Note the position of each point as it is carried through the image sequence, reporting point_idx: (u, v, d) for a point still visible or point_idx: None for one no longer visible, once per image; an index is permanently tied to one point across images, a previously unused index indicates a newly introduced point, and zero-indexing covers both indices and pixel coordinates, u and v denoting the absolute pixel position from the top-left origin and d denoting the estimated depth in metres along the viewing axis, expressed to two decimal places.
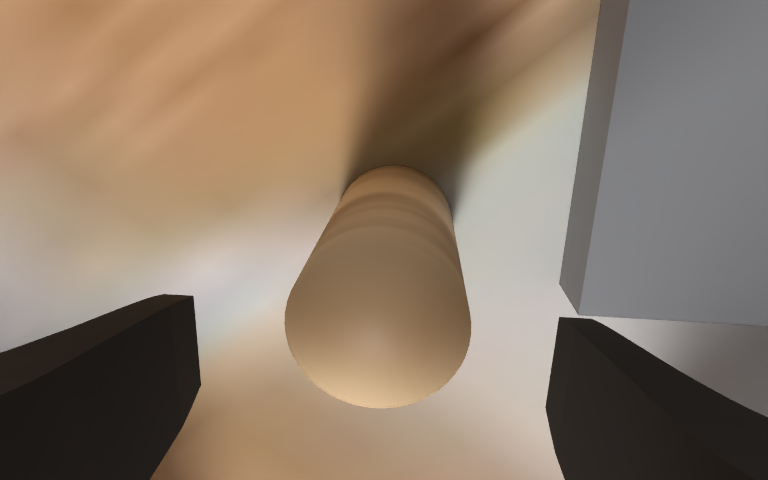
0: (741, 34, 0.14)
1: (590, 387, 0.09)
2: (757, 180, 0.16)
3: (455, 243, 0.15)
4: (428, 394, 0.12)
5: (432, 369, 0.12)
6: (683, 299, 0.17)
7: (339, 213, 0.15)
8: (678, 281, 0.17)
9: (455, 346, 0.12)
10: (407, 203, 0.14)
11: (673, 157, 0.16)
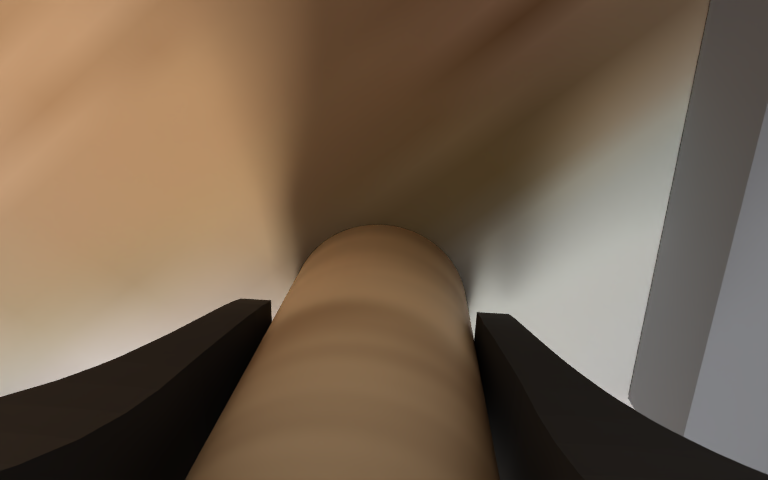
0: None
1: (492, 381, 0.09)
2: None
3: (482, 394, 0.08)
4: None
5: None
6: None
7: (271, 342, 0.08)
8: None
9: None
10: (394, 331, 0.08)
11: None
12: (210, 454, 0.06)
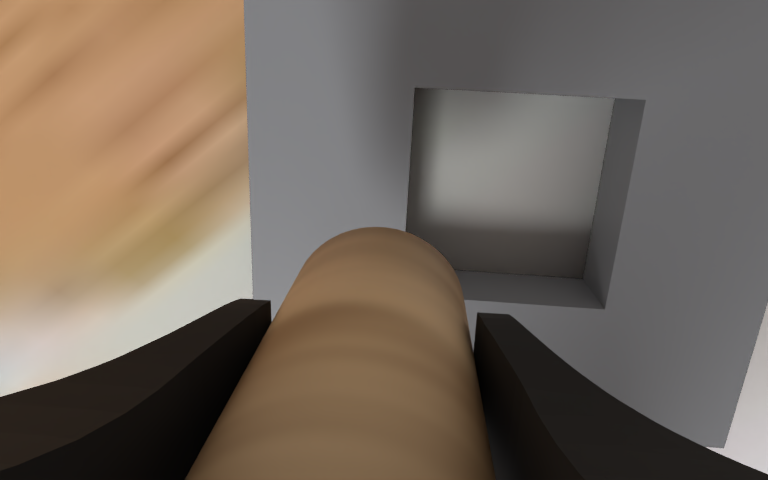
0: (348, 181, 0.16)
1: (492, 381, 0.09)
2: None
3: (481, 403, 0.08)
4: None
5: None
6: None
7: (276, 340, 0.08)
8: None
9: None
10: (400, 337, 0.08)
11: None
12: (217, 450, 0.06)
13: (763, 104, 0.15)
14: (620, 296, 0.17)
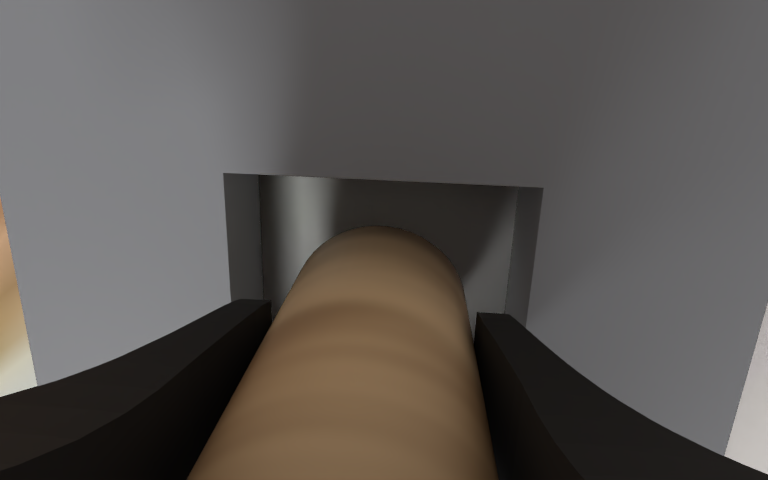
0: (150, 295, 0.12)
1: (492, 381, 0.09)
2: None
3: (484, 402, 0.08)
4: None
5: None
6: None
7: (279, 338, 0.08)
8: None
9: None
10: (403, 335, 0.08)
11: None
12: (220, 449, 0.06)
13: (709, 192, 0.11)
14: None
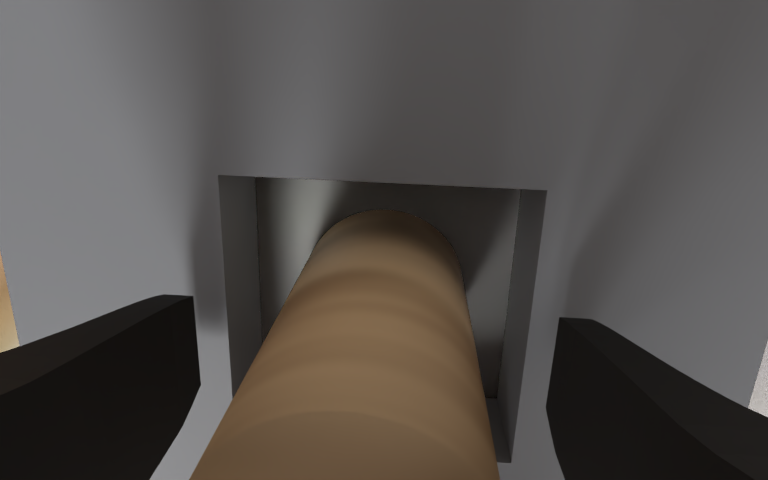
0: None
1: (589, 387, 0.09)
2: None
3: (476, 356, 0.10)
4: None
5: None
6: None
7: (300, 300, 0.09)
8: None
9: None
10: (407, 295, 0.09)
11: None
12: (257, 379, 0.07)
13: (717, 195, 0.10)
14: (531, 447, 0.12)
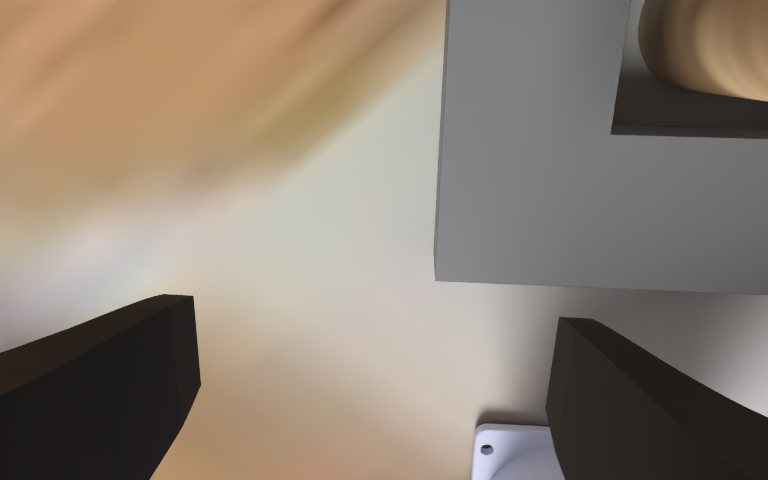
0: None
1: (590, 387, 0.09)
2: (593, 143, 0.16)
3: None
4: None
5: None
6: (534, 263, 0.17)
7: None
8: (528, 245, 0.17)
9: None
10: None
11: (510, 122, 0.16)
12: None
13: None
14: None
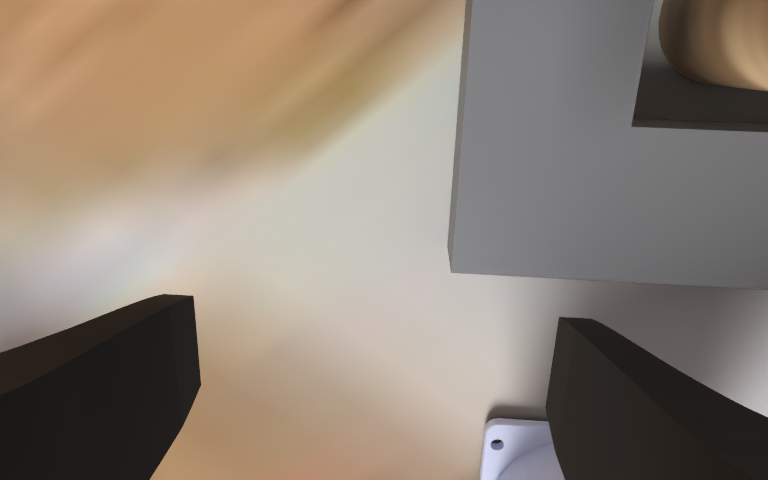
0: None
1: (590, 387, 0.09)
2: (614, 135, 0.16)
3: None
4: None
5: None
6: (551, 256, 0.17)
7: None
8: (545, 237, 0.17)
9: None
10: None
11: (531, 113, 0.16)
12: None
13: None
14: None
